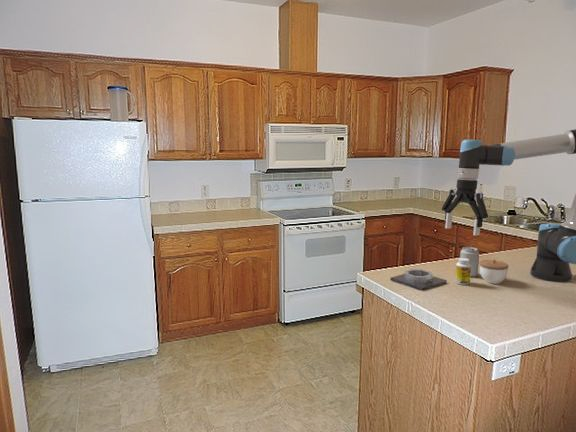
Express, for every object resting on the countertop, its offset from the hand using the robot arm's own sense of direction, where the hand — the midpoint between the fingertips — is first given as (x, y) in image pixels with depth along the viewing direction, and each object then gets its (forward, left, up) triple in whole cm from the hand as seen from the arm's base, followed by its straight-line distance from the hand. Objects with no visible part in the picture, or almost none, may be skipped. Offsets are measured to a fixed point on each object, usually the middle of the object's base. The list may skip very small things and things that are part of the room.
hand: (461, 231), depth 171 cm
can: (+4, -13, -22) cm, 26 cm away
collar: (+11, +12, -22) cm, 27 cm away
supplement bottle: (-1, -1, -22) cm, 22 cm away
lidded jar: (-7, -13, -22) cm, 26 cm away
